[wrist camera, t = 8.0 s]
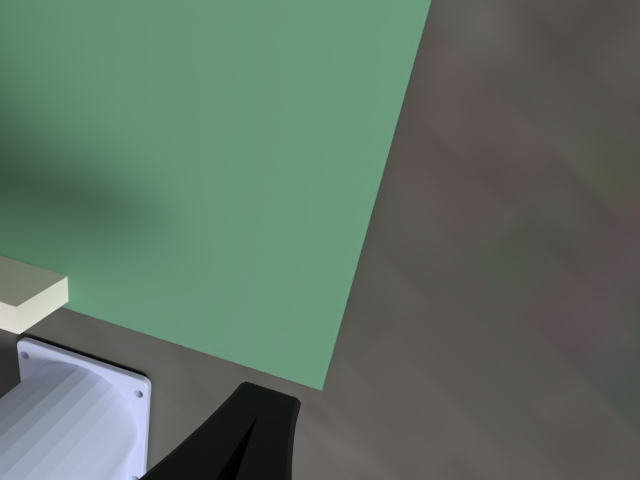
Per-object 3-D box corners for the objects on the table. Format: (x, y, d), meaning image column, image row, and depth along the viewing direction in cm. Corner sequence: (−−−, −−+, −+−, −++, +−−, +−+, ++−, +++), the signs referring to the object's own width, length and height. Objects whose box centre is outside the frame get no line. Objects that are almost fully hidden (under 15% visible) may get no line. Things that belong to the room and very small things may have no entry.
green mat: (323, 384, 21) (321, 390, 21) (-130, 240, 24) (-139, 242, 23) (515, -299, 11) (518, -311, 11) (-297, -410, 14) (-316, -423, 14)
